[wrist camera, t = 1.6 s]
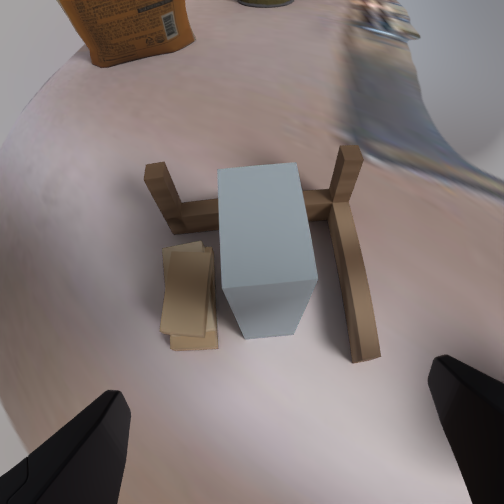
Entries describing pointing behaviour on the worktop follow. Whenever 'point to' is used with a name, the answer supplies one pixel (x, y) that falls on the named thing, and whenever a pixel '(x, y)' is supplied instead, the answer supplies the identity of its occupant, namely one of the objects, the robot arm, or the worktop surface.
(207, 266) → the offcut stack
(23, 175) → the worktop surface
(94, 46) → the pancake mix bag
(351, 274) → the rack
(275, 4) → the canister
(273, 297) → the grey rectangular block
